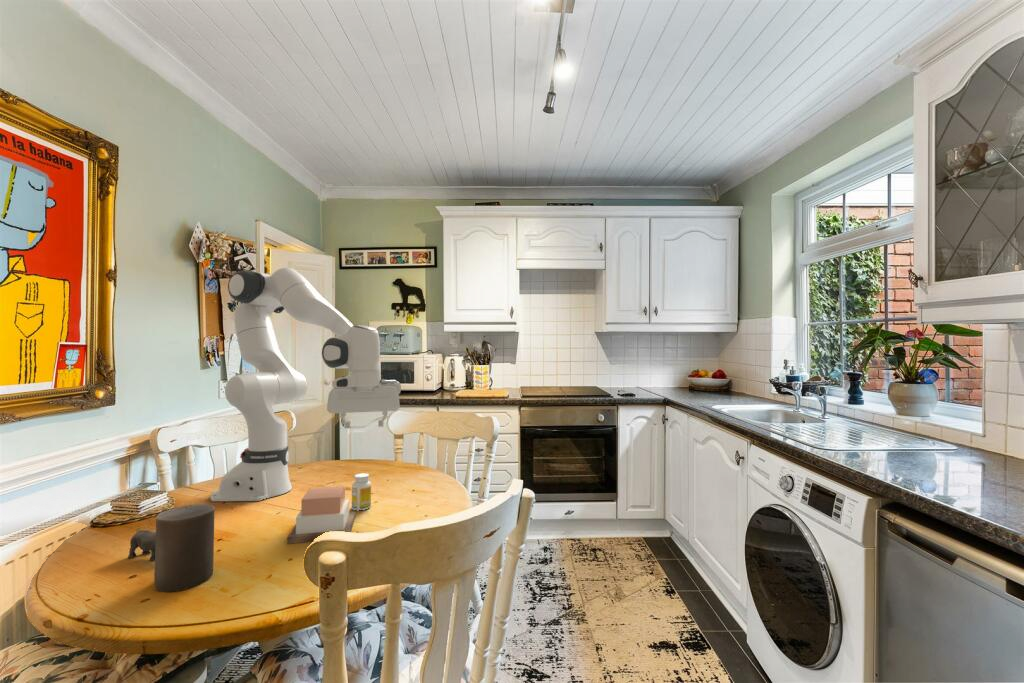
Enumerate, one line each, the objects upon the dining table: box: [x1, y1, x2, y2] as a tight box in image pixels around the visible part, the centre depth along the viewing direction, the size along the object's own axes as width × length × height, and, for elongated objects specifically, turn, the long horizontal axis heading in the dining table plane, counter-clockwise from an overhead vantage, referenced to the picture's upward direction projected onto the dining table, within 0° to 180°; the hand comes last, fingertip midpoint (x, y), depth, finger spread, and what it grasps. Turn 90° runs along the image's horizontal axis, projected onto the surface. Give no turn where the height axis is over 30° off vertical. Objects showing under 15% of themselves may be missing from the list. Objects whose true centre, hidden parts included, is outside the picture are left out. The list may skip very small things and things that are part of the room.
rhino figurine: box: [127, 529, 156, 562], centre depth 99 cm, size 4×14×6 cm, turn 81°
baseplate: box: [286, 511, 356, 545], centre depth 115 cm, size 14×14×2 cm
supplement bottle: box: [351, 472, 372, 512], centre depth 131 cm, size 5×5×10 cm
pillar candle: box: [153, 503, 215, 593], centre depth 90 cm, size 10×10×15 cm
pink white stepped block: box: [295, 485, 350, 534], centre depth 115 cm, size 11×11×8 cm
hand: (364, 427), depth 131 cm, fingers open, 8 cm apart
